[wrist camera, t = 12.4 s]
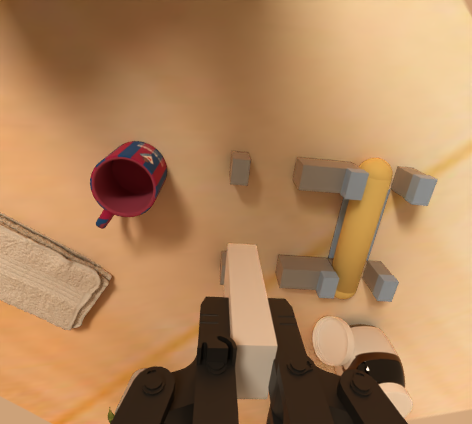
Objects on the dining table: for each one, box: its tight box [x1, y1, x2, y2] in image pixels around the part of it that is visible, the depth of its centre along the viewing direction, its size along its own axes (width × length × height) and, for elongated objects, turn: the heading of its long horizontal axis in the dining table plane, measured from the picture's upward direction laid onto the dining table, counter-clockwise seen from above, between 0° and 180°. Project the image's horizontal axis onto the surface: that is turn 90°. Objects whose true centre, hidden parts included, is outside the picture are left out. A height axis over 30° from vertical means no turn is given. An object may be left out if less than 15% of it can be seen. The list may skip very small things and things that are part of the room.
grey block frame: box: [220, 151, 437, 302], centre depth 41 cm, size 17×23×5 cm
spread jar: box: [312, 316, 413, 418], centre depth 47 cm, size 12×11×12 cm
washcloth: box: [0, 212, 112, 330], centre depth 43 cm, size 12×18×3 cm, turn 54°
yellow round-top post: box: [332, 158, 392, 299], centre depth 41 cm, size 20×4×4 cm, turn 174°
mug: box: [90, 141, 167, 229], centre depth 36 cm, size 7×10×7 cm
